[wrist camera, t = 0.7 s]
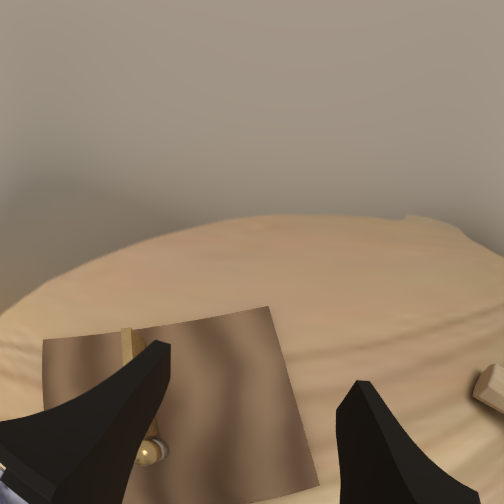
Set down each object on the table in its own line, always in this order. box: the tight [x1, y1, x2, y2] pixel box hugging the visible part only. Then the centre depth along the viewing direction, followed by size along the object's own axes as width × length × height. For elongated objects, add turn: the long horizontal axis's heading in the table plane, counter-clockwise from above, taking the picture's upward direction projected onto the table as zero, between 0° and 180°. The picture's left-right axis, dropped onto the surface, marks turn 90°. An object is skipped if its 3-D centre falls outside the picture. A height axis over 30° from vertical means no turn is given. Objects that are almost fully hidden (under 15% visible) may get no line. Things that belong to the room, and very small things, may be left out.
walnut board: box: [42, 306, 320, 504], centre depth 22 cm, size 28×20×1 cm
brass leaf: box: [121, 328, 162, 466], centre depth 21 cm, size 13×2×4 cm, turn 13°
